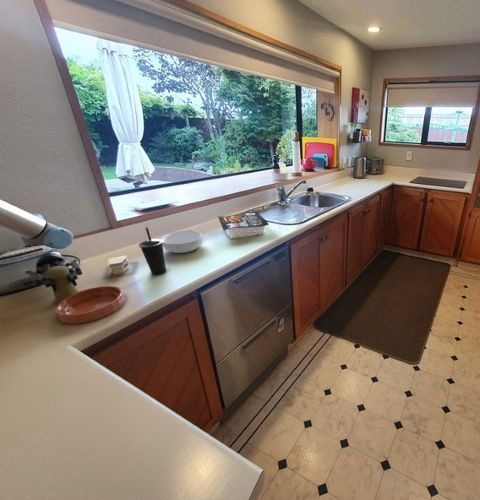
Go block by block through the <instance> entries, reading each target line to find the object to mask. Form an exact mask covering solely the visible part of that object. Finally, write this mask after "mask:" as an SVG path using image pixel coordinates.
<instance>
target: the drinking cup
mask: <svg viewBox="0 0 480 500" xmlns="http://www.w3.org/2000/svg"><path fill="white" fill-rule="evenodd" d="M145 231H146V235H147V238H148V239H146V240H143V241H141V242H139V244H138V246H139V248H140V249H141V251H142V254H143V257H144V259H145V262H146V263H147V266H148V268H149V270H150V273H151V275H153V276H161V275H163V274H165V273H166V272H167V266H166V260H165V253H164V247H163V245H162V243H163V241H162V240H161V239H160V238H152V237H151V234H150V230H149V228H148V226H145Z"/></svg>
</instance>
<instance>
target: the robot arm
mask: <svg viewBox="0 0 480 500" xmlns="http://www.w3.org/2000/svg"><path fill="white" fill-rule="evenodd" d="M0 229H2V230H5V231H7V232H10V233H13V234H14V235H17V236H20V238H21V240H22V242H23V244H24V246H25V248H26V247H31V246H37V245H41V244H42V245H45V246H47V247H50V248H54V249H57V250H63V249H66V248H68V247H69V246H71V245H72V244H73V242H74V235H73V233H72V232H71V231H70V230H68V229H66V228H64V227H60V226H57V225H55V224H53V223H51V222H49V221H47V220H46V219H45V218H44V216H43V215H42V214H40V213H30V212H28V211H25V210H24V209H22V208H18V207H17V206H14V205H12V204H10V203H8V202H6V201H4V200H2V199H0ZM55 266H66V267H67V268H68V270H69V274H68V276H69V278H70V280H71V282H72V284H73V285H74V286H75V287H76V286H78V283H77V282H76V280H79V276H82V275H83V271H82V268H81V266H80V262H79V260H78V258H75V259H73V260H71V261H68V260H65V258H64V257H63V256H62V255H61V253H60V252H59V251H58V252H50V253H47V254H44V255H42V256H41V257H40V258H39V259H38V260H37V262H36V266H35V270H26V271H25V272H24V273H25V275H26V277H27V279H29V280H32V282H33V284H34V286H35V287H36V288H37V287H41V286H42V285H44V287H45V288H50V287H51V289H52V292H53V293H54V292H56V291H57V289H56V287H55V285H54V283H53V281H52V279H51V278H49V277H48V276H47V274H46V272H47V270H48V269H49V268H51V267H55ZM70 267H72V268H70ZM38 275H42V276H41V278H40V279H39V277H38Z"/></svg>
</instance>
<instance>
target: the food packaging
mask: <svg viewBox="0 0 480 500" xmlns="http://www.w3.org/2000/svg"><path fill="white" fill-rule="evenodd" d="M217 218H218V221H219V222H220V223H219V224H220V225H221V228H222V230H223V231H224V232H226V234H227V237H229V238H230V240H233V239H234V240H235V239H240V238H247V237H248V238H249V237H255V236H260V235H264V234H265V227H266V226H269V225H270V224H269V223H268V221H267V219H265V218H264V217H263V216H261V214H260V213H259V211H245V212H240V213H236V214H232V215H224V216H219V215H218V216H217Z"/></svg>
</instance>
